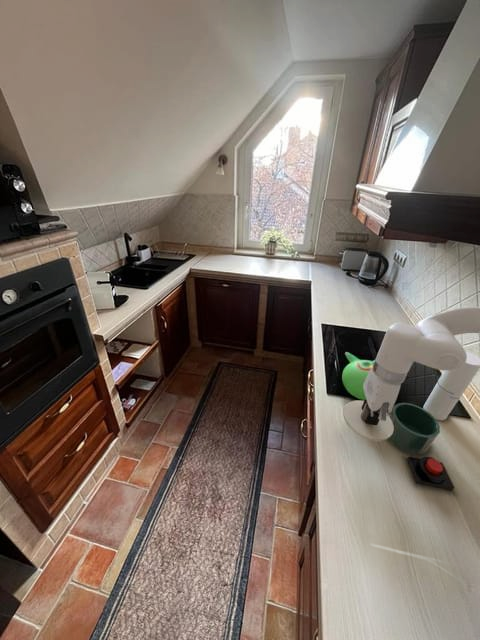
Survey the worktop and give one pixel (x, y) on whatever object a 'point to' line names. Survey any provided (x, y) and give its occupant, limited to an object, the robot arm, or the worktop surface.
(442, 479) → the block
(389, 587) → the worktop surface
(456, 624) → the worktop surface
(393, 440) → the jar
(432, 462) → the button
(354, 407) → the lid
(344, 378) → the toy bird
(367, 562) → the worktop surface
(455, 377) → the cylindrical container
